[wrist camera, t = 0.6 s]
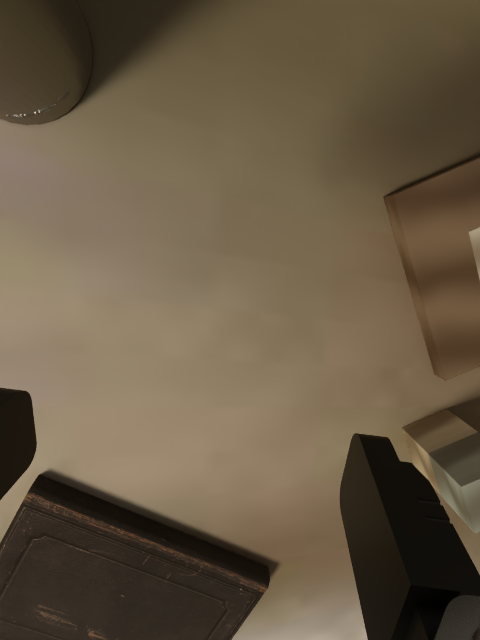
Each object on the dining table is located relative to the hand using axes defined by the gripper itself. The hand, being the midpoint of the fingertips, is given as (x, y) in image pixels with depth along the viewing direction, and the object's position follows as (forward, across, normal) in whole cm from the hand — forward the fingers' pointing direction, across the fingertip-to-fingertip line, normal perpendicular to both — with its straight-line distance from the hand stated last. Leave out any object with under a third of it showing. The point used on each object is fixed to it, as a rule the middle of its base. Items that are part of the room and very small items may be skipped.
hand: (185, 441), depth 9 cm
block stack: (+22, -18, +14) cm, 32 cm away
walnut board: (+25, -21, -3) cm, 32 cm away
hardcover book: (+16, +8, +31) cm, 36 cm away
